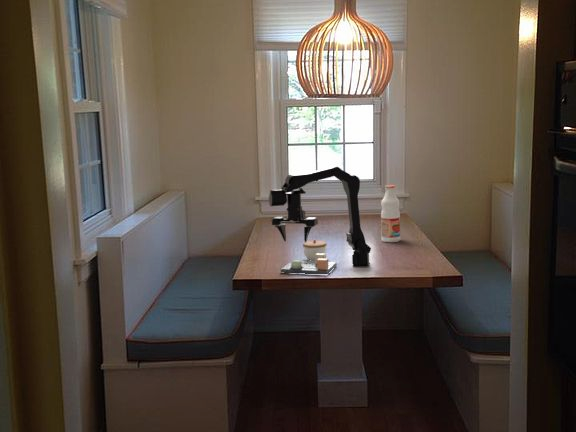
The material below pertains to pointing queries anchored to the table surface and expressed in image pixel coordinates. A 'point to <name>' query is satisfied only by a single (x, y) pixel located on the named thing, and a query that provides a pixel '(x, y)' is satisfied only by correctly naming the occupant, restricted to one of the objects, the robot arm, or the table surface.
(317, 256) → the slider
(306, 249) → the lidded jar
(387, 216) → the fruit juice
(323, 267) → the slider
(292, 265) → the button
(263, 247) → the table surface
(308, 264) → the panel
